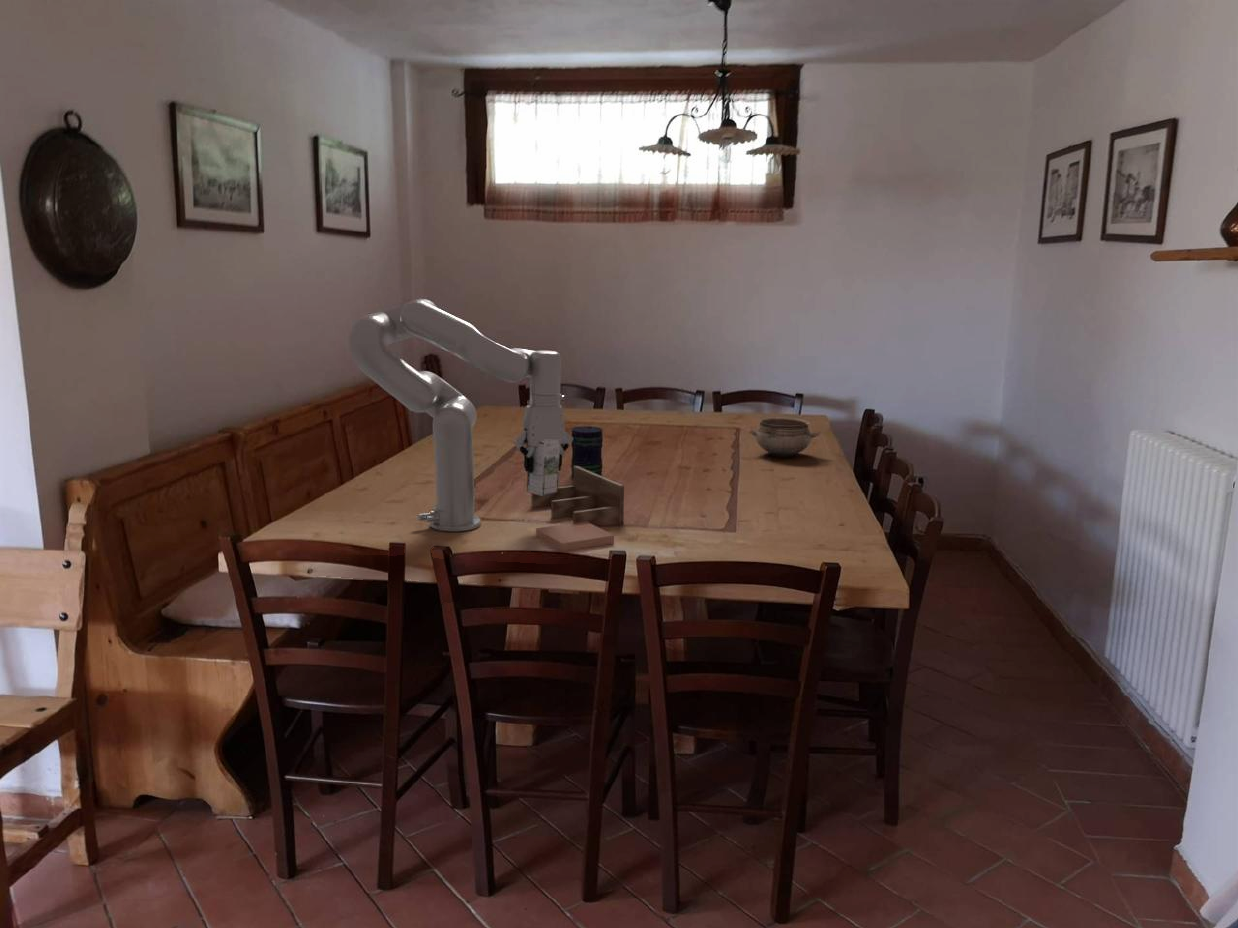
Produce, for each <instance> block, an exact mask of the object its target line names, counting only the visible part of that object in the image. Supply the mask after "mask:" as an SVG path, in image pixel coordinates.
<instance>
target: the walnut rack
mask: <svg viewBox="0 0 1238 928" xmlns="http://www.w3.org/2000/svg"><path fill="white" fill-rule="evenodd" d="M572 479H573V481H572V482H573V483H572V484H573V485H566V486H558V492H557V493H553V494H549V495H544V496H541V495H537V494H533V493H530V494H531V499H530V500H531V507H532V508H539V507H546V506H551V507H550V509H551V512H550V514H551V517H550V518H552V519H556V518H557V519H559V518H564V517H572V523H577V522H584V521H587V522H589V523H591V524H593V525H595V526H597V527H599V528H600V527H603V526H604V527H605V526H610V525H617V524H623V523H624V516H625V515H624V509H625V508H624V507H625V505H624V504H625V502H624V501H625V500H624V499H625V485H624V484H622V483H619V482H616V481H614V480H611V479H609V478H608V477H604V476H603V475H602V476H600V475H598V474H595V473H593V472H591V471H588V470H586V469H583V468H581V467H579V466H574V471H573V477H572Z"/></svg>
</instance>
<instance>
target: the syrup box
mask: <svg viewBox="0 0 1238 928" xmlns="http://www.w3.org/2000/svg"><path fill="white" fill-rule="evenodd" d="M559 453H560V444H559V441H558V439H540V443H539V446H538V447H535V449H534V451H533V453H532V457H533V472H532V473H529V472H527V471H526V472H527V475H526V492H527V493H530V494H531V493H533V494H537V495H541V496H544V495H549V494H553V493H557V492H558V487H559V472H560V470H559Z"/></svg>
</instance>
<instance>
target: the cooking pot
mask: <svg viewBox="0 0 1238 928" xmlns="http://www.w3.org/2000/svg"><path fill="white" fill-rule="evenodd" d="M758 422H759V425H758V427H757V429H756V431H754V430H751V429H747V432H748V434H750V435H752V436H753V437H755V439H756V443H757V444H758V445H759V447H760V448H761V449H762V450H764V451H765V452H767V453H768V454H770V455H771V456H773V457H775V458H780V459H781V458H783V459H784V458H792V457H793V456H795V455H797V454H799V453H801V452H803V451H804V450H805V449H806V448H807V447H808V446H809V445H810V443H811V440H812V439H813V438H816V437H818V436H820V434H821V433H820V432H819V431H815V432H811V430H810V428H809V424H810V421H808V420H807V419H802V418H797V417H796V418H795V417H785V416H784V417H783V416H779V417H776V416H773V417H763V418H760V419H758Z"/></svg>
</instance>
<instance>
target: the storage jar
mask: <svg viewBox="0 0 1238 928" xmlns="http://www.w3.org/2000/svg"><path fill="white" fill-rule="evenodd" d="M603 431H604V429H603V428H602V427H596V426H575V427H573V428H571V436H572V437H573V441H572V442H571V444H570V445H571V453H572V454H571V464H570V467H571V470H570V472H571V478H573V471H574V466H579V467H581V468H583V469H586V470H588V471H591V472H593V473H595V474H598V475H600V476H603V474H602V472H603V470H602V469H603V459H602V458H603V457H602V454H603V453H602V447H603V444H604V443H603V441H604V438H603Z"/></svg>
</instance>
